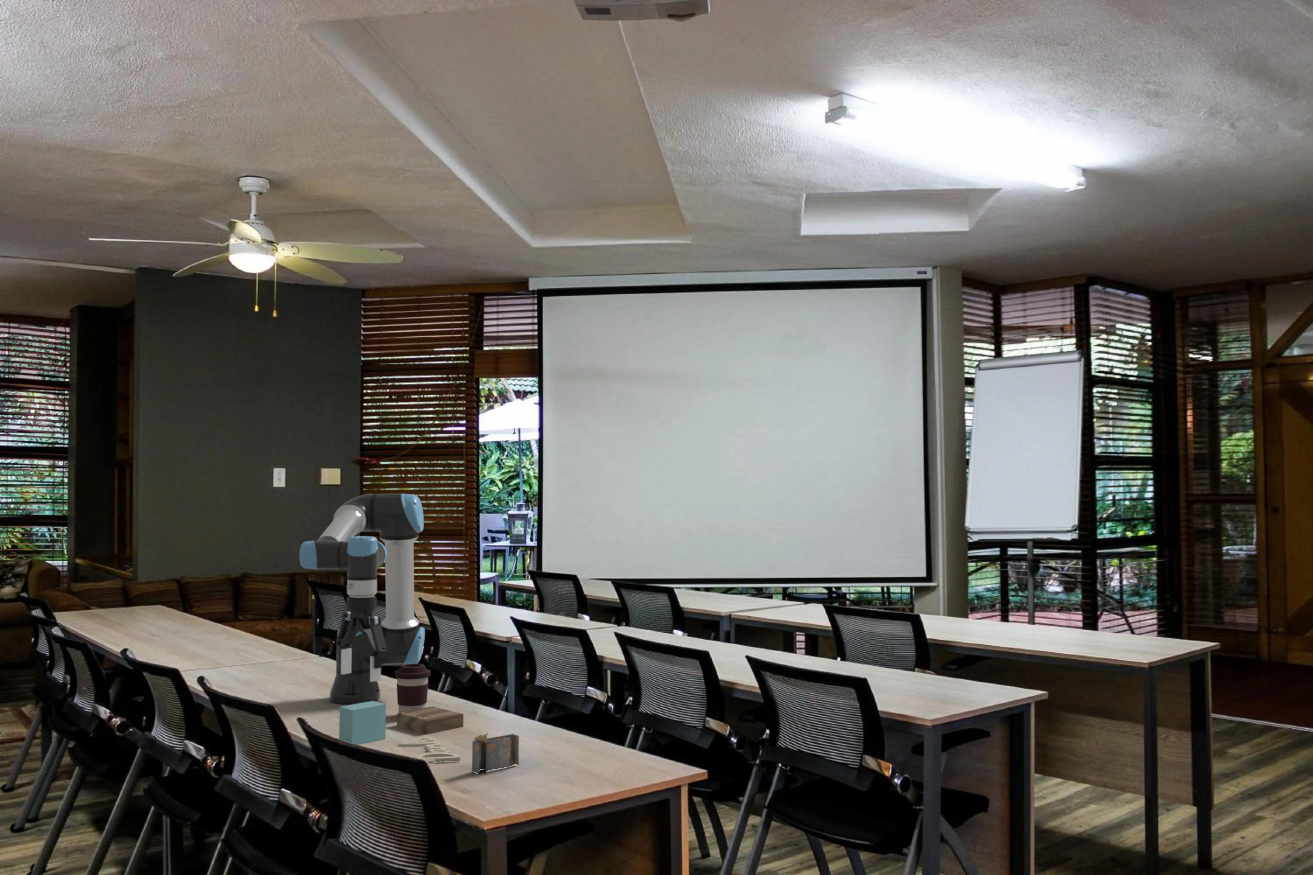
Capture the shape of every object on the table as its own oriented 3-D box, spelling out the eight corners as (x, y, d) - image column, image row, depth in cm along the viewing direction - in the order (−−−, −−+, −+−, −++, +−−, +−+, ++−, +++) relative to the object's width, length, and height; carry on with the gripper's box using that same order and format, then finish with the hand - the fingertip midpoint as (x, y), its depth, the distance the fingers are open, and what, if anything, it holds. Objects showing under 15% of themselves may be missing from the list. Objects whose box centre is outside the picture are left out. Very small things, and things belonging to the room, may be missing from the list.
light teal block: (339, 741, 272) (339, 706, 272) (372, 734, 279) (373, 700, 280) (351, 745, 268) (352, 710, 268) (385, 738, 275) (386, 704, 276)
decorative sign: (461, 756, 256) (421, 761, 251) (461, 763, 256) (421, 768, 251) (433, 736, 276) (395, 740, 271) (433, 742, 276) (395, 746, 271)
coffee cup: (420, 722, 296) (421, 669, 297) (388, 720, 298) (389, 667, 299) (435, 714, 306) (435, 663, 306) (403, 713, 308) (404, 661, 308)
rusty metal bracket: (478, 776, 244) (479, 734, 245) (472, 773, 246) (472, 732, 247) (519, 768, 252) (520, 727, 252) (512, 765, 254) (513, 725, 254)
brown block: (396, 727, 290) (397, 712, 290) (432, 720, 299) (432, 705, 299) (427, 736, 280) (427, 719, 281) (463, 728, 289) (463, 712, 290)
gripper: (323, 592, 280) (321, 672, 279) (376, 601, 263) (375, 686, 263) (347, 590, 285) (346, 668, 285) (401, 598, 269) (400, 681, 268)
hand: (360, 677), depth 274 cm, fingers open, 13 cm apart
